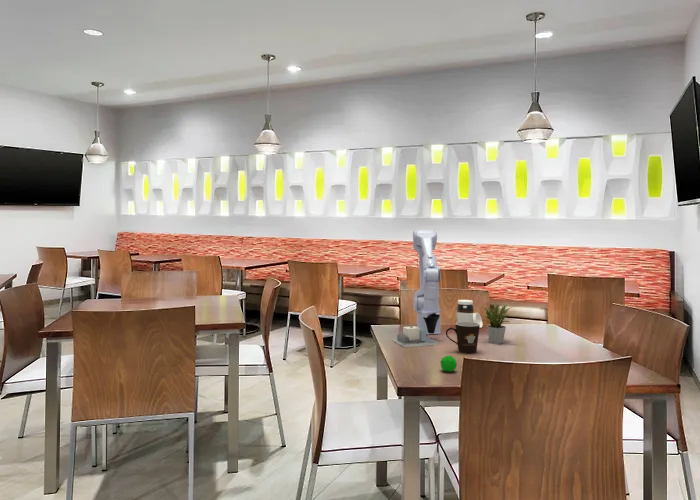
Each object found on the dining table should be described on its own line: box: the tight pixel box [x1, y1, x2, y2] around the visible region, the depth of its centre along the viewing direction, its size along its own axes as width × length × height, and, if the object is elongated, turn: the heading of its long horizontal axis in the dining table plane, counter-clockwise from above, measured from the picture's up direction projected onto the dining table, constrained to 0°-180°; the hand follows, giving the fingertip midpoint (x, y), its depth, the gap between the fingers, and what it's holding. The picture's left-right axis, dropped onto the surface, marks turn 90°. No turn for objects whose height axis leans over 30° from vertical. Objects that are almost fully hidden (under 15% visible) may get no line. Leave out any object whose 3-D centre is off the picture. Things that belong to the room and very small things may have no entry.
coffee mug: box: [445, 322, 481, 355], centre depth 188 cm, size 12×9×10 cm
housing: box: [402, 325, 420, 340], centre depth 201 cm, size 5×4×5 cm
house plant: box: [480, 302, 518, 345], centre depth 202 cm, size 14×14×16 cm
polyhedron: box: [439, 355, 457, 373], centre depth 162 cm, size 5×5×5 cm
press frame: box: [392, 333, 439, 348], centre depth 202 cm, size 14×12×3 cm
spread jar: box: [456, 299, 483, 329], centre depth 234 cm, size 12×11×12 cm
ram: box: [418, 327, 427, 341], centre depth 202 cm, size 2×7×4 cm, turn 17°
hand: (431, 333), depth 204 cm, fingers closed
